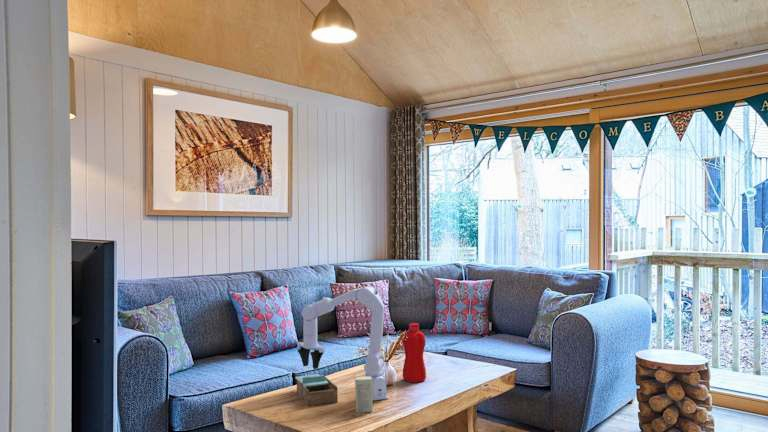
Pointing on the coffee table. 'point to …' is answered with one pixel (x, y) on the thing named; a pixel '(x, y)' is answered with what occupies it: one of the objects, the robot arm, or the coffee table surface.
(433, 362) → the coffee table surface
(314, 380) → the lid
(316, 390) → the box
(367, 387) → the skincare box
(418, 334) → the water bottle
